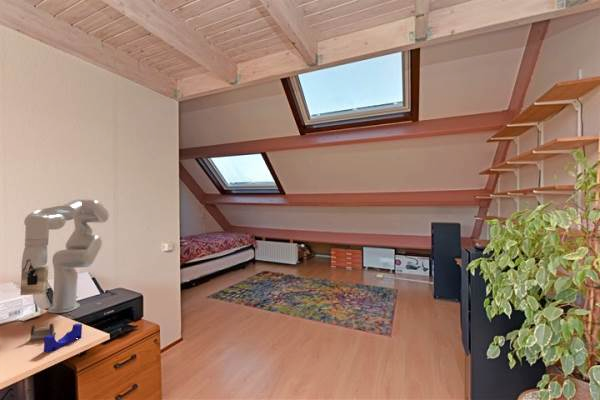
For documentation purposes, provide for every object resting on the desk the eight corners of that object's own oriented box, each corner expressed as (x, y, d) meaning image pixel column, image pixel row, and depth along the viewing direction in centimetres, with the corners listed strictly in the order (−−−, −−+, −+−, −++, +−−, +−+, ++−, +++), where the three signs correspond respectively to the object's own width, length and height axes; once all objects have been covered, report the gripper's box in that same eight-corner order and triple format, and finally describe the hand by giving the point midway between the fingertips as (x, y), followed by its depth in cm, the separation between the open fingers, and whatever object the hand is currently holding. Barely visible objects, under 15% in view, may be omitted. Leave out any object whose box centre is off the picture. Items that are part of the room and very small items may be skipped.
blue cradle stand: (73, 336, 116) (73, 322, 116) (81, 338, 115) (82, 324, 115) (40, 351, 104) (41, 336, 104) (49, 353, 103) (50, 337, 103)
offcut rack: (35, 336, 114) (36, 322, 114) (55, 334, 116) (56, 320, 116) (29, 341, 110) (30, 326, 110) (50, 339, 113) (51, 325, 113)
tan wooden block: (24, 292, 119) (26, 266, 119) (47, 291, 122) (48, 265, 122) (20, 295, 117) (21, 267, 117) (43, 293, 119) (44, 267, 119)
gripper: (37, 239, 126) (35, 278, 126) (13, 245, 111) (11, 289, 110) (56, 239, 128) (54, 277, 128) (36, 245, 113) (34, 288, 113)
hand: (34, 283), depth 119 cm, fingers closed on tan wooden block, 3 cm apart
